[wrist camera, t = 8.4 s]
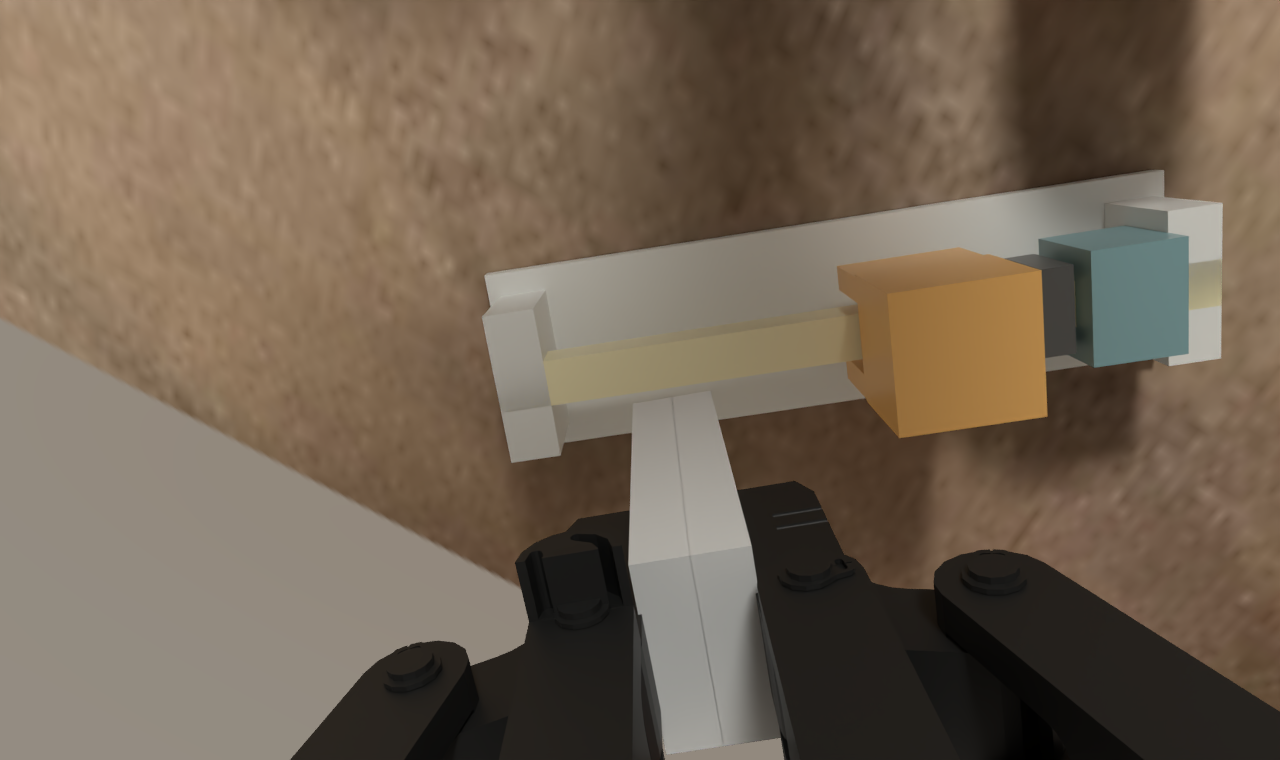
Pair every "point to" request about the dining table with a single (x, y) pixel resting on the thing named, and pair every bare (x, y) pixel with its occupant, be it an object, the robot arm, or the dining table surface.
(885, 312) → the orange slider block
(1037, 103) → the dining table surface
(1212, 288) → the linear slide rail
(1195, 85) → the dining table surface
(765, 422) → the dining table surface
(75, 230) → the dining table surface
